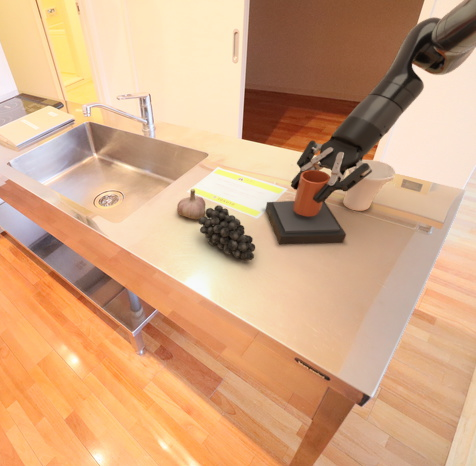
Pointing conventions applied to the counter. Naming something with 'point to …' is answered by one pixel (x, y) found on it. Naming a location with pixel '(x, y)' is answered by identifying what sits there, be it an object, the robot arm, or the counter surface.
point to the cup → (368, 185)
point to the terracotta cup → (309, 192)
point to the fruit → (227, 233)
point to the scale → (303, 225)
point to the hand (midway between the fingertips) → (304, 194)
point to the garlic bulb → (192, 206)
